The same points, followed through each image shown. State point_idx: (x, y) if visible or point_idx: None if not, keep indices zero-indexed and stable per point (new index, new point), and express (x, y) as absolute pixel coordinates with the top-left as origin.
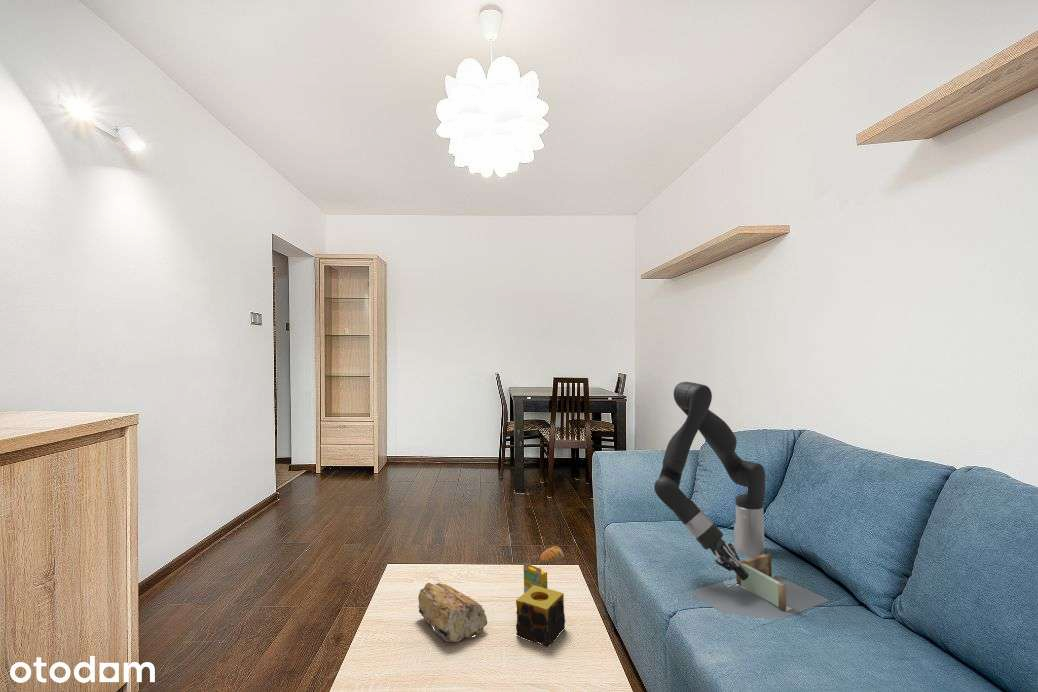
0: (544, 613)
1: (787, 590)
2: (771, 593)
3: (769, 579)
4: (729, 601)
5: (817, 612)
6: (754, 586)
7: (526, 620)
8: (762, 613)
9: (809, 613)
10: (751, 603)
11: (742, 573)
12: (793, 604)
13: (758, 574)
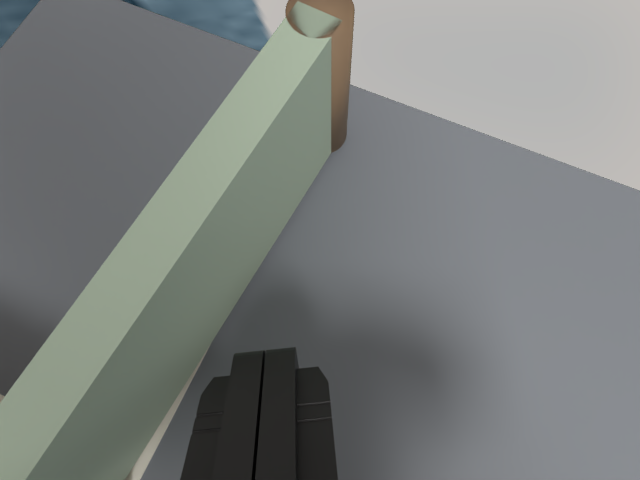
0: None
1: (36, 172)
2: (298, 166)
3: (266, 121)
4: (461, 471)
5: (224, 8)
6: (199, 331)
7: None
8: (463, 218)
9: (261, 34)
10: (378, 315)
11: (328, 407)
12: (219, 105)
13: (187, 251)
